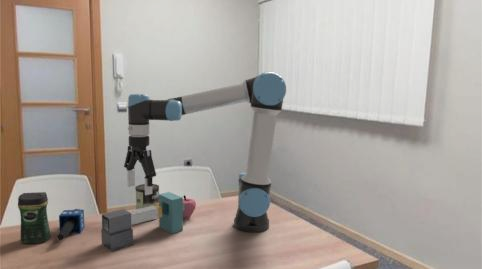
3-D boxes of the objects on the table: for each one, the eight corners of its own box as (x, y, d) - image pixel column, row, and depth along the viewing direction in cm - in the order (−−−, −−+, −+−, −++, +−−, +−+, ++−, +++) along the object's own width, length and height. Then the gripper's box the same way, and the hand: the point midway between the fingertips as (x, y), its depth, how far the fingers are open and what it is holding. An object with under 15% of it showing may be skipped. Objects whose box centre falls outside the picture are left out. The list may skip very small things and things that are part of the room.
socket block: (182, 230, 150) (182, 197, 148) (172, 233, 146) (172, 200, 144) (169, 223, 157) (169, 191, 155) (159, 226, 153) (158, 194, 151)
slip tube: (161, 216, 145) (161, 207, 145) (108, 231, 130) (107, 220, 130) (156, 214, 148) (156, 204, 148) (103, 228, 133) (102, 217, 133)
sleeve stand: (133, 244, 136) (132, 213, 134) (111, 251, 130) (110, 219, 128) (123, 238, 141) (122, 208, 140) (101, 244, 135) (100, 213, 134)
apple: (170, 218, 162) (170, 196, 161) (183, 212, 170) (183, 192, 168) (187, 223, 158) (187, 200, 156) (199, 217, 165) (199, 195, 163)
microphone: (48, 227, 131) (68, 204, 155) (49, 247, 132) (69, 222, 157) (71, 226, 132) (87, 204, 157) (72, 246, 134) (88, 221, 158)
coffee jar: (52, 235, 143) (50, 189, 140) (45, 243, 135) (43, 195, 133) (26, 236, 141) (22, 190, 139) (17, 245, 133) (13, 196, 131)
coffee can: (163, 213, 168) (162, 184, 166) (153, 222, 158) (153, 190, 156) (142, 212, 170) (142, 182, 168) (131, 220, 160) (130, 188, 158)
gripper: (114, 132, 143) (115, 184, 146) (146, 140, 125) (147, 200, 128) (132, 131, 148) (133, 181, 151) (165, 138, 130) (165, 196, 133)
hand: (139, 190), depth 140 cm, fingers open, 13 cm apart
